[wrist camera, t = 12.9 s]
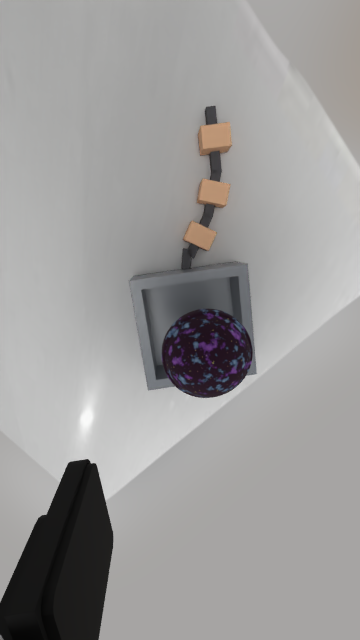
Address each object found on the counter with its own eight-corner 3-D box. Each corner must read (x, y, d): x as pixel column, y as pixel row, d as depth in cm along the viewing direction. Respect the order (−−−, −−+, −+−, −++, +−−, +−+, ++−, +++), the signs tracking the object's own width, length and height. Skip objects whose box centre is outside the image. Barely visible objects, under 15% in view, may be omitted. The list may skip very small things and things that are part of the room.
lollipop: (222, 288, 34) (269, 318, 20) (220, 347, 36) (261, 416, 21) (160, 288, 34) (161, 319, 19) (161, 348, 35) (161, 418, 21)
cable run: (201, 107, 31) (204, 96, 29) (238, 114, 31) (244, 104, 29) (178, 268, 34) (179, 269, 32) (211, 273, 35) (215, 274, 32)
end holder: (133, 276, 34) (128, 280, 29) (235, 261, 34) (247, 264, 30) (149, 371, 37) (148, 390, 32) (244, 357, 37) (256, 374, 32)
